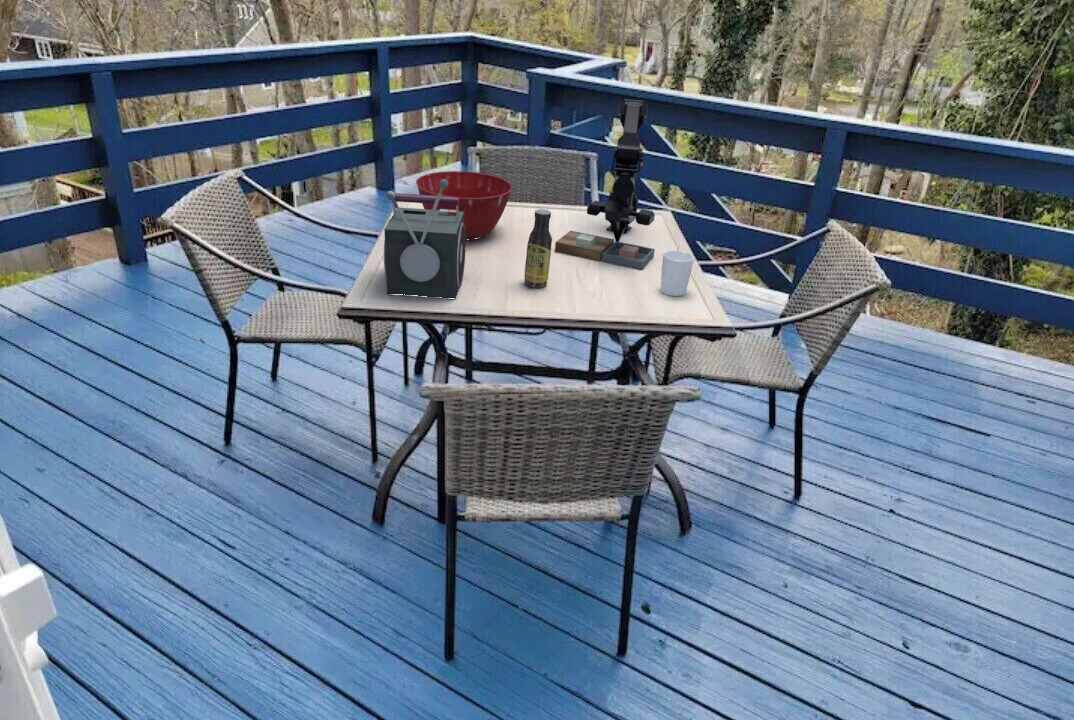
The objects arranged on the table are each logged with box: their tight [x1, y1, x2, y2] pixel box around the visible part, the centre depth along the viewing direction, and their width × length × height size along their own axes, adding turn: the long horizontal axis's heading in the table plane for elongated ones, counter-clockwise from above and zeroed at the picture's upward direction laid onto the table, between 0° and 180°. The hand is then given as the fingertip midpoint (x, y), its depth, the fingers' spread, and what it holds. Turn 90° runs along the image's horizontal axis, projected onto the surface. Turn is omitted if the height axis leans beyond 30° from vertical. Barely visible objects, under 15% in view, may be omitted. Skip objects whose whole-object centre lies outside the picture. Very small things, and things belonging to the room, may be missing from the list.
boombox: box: [383, 179, 467, 300], centre depth 186 cm, size 18×21×30 cm
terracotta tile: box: [619, 245, 639, 259], centre depth 218 cm, size 4×4×2 cm
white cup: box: [659, 249, 695, 297], centre depth 196 cm, size 8×8×10 cm
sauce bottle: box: [524, 208, 553, 289], centre depth 192 cm, size 6×6×20 cm
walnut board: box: [554, 230, 615, 262], centre depth 221 cm, size 12×14×3 cm
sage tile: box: [576, 233, 597, 247], centre depth 217 cm, size 4×4×2 cm
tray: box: [601, 240, 656, 271], centre depth 217 cm, size 12×12×2 cm
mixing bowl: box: [415, 170, 513, 241], centre depth 225 cm, size 28×28×15 cm
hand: (617, 241), depth 219 cm, fingers closed
